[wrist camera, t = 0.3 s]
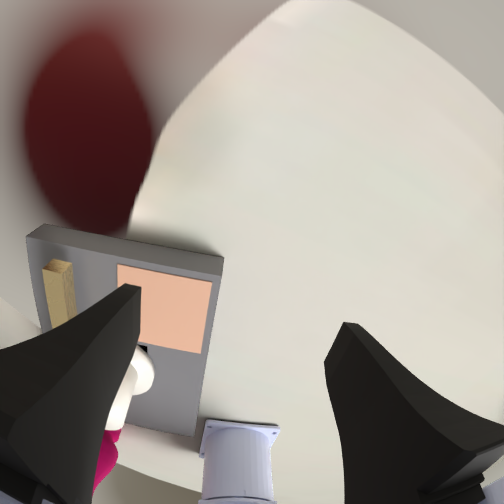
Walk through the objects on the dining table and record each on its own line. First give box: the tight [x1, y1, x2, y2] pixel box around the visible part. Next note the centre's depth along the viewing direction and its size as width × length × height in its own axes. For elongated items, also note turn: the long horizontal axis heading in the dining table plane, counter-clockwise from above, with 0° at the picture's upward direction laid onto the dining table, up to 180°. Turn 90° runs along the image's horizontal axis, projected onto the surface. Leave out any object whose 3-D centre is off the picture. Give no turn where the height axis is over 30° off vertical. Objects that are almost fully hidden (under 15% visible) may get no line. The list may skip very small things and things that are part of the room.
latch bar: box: [42, 259, 78, 329], centre depth 19 cm, size 17×2×1 cm, turn 168°
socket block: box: [26, 224, 224, 437], centre depth 22 cm, size 19×14×3 cm
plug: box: [105, 344, 155, 430], centre depth 20 cm, size 6×6×7 cm
